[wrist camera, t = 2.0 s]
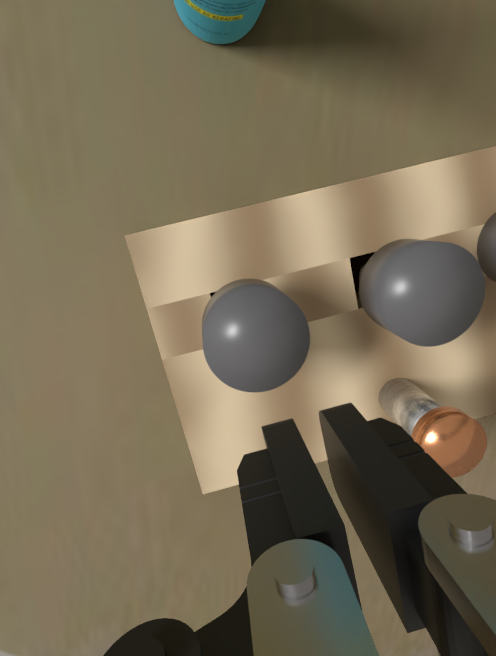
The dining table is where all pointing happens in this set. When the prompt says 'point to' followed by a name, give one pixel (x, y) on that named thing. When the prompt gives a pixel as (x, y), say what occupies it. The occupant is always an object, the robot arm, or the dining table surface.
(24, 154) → the dining table surface
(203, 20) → the teal bottle
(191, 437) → the panel
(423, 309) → the knob middle
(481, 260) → the knob
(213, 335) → the knob
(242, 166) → the dining table surface
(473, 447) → the orange light bulb
